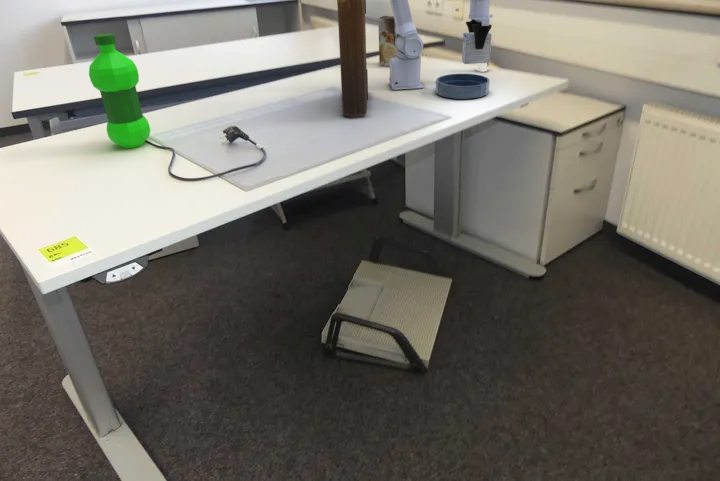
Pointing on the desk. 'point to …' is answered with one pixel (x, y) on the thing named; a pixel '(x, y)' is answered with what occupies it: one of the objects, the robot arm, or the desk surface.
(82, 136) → the desk surface
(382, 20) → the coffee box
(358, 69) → the dark brown tall slab
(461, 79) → the bowl
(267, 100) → the desk surface
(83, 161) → the desk surface
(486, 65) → the milkshake
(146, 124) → the plastic bottle
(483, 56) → the medicine box
